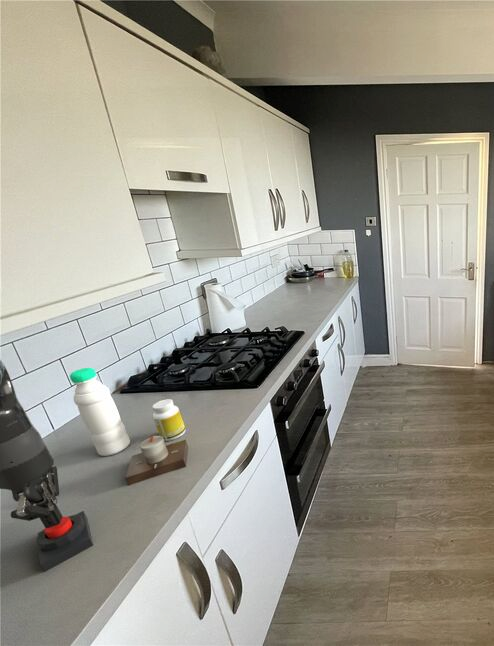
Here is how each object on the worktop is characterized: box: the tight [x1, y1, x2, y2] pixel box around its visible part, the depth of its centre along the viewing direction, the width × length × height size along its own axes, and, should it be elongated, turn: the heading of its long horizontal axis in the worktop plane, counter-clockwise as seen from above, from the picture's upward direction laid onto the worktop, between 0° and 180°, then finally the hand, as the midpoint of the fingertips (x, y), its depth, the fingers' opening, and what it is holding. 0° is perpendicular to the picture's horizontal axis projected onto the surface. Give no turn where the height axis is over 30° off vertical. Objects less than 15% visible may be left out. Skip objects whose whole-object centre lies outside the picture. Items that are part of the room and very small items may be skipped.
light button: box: [43, 516, 73, 539], centre depth 70 cm, size 4×4×2 cm
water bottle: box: [69, 367, 131, 457], centre depth 94 cm, size 7×7×25 cm
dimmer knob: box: [139, 435, 168, 464], centre depth 90 cm, size 5×5×5 cm
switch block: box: [36, 510, 94, 573], centre depth 71 cm, size 10×7×4 cm
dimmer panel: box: [124, 439, 189, 486], centre depth 92 cm, size 12×9×3 cm
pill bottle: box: [152, 398, 187, 442], centre depth 102 cm, size 6×6×11 cm
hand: (54, 523), depth 69 cm, fingers closed
